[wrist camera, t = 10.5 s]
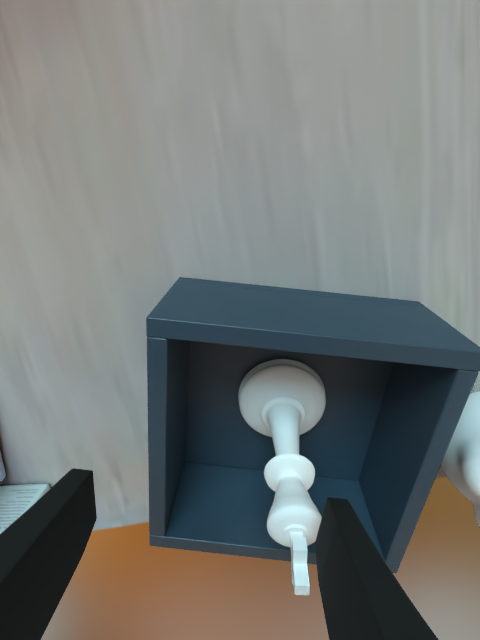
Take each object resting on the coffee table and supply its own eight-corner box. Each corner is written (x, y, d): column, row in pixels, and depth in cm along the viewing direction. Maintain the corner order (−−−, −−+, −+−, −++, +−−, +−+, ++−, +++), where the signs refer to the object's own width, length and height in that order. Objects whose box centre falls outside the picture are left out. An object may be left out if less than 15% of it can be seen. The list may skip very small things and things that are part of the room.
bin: (364, 481, 23) (396, 574, 17) (174, 460, 23) (149, 546, 17) (419, 301, 18) (488, 352, 12) (179, 276, 18) (146, 317, 13)
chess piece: (239, 431, 21) (224, 634, 11) (236, 358, 19) (215, 531, 10) (322, 431, 20) (376, 640, 11) (327, 358, 18) (397, 535, 9)
